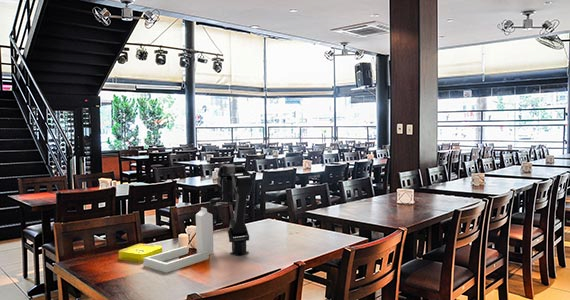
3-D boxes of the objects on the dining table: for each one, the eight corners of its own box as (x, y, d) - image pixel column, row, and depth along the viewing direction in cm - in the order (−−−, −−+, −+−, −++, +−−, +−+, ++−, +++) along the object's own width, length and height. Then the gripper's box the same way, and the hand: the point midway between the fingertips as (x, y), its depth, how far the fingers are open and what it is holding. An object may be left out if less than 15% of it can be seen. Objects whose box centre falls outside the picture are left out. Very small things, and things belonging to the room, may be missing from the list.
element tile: (164, 254, 211) (163, 244, 210) (141, 263, 197) (141, 253, 197) (140, 251, 217) (139, 242, 217) (116, 260, 204) (116, 250, 203)
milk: (202, 256, 206) (200, 209, 205) (196, 253, 211) (195, 207, 210) (213, 253, 210) (212, 207, 208) (208, 250, 215) (206, 206, 213)
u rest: (208, 258, 201) (208, 251, 201) (166, 272, 183) (166, 264, 183) (186, 253, 211) (185, 246, 211) (143, 265, 193) (143, 258, 193)
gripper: (251, 187, 226) (252, 217, 227) (220, 185, 234) (221, 214, 235) (240, 190, 216) (241, 222, 217) (208, 188, 223) (209, 219, 224)
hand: (228, 219), depth 224 cm, fingers open, 9 cm apart
